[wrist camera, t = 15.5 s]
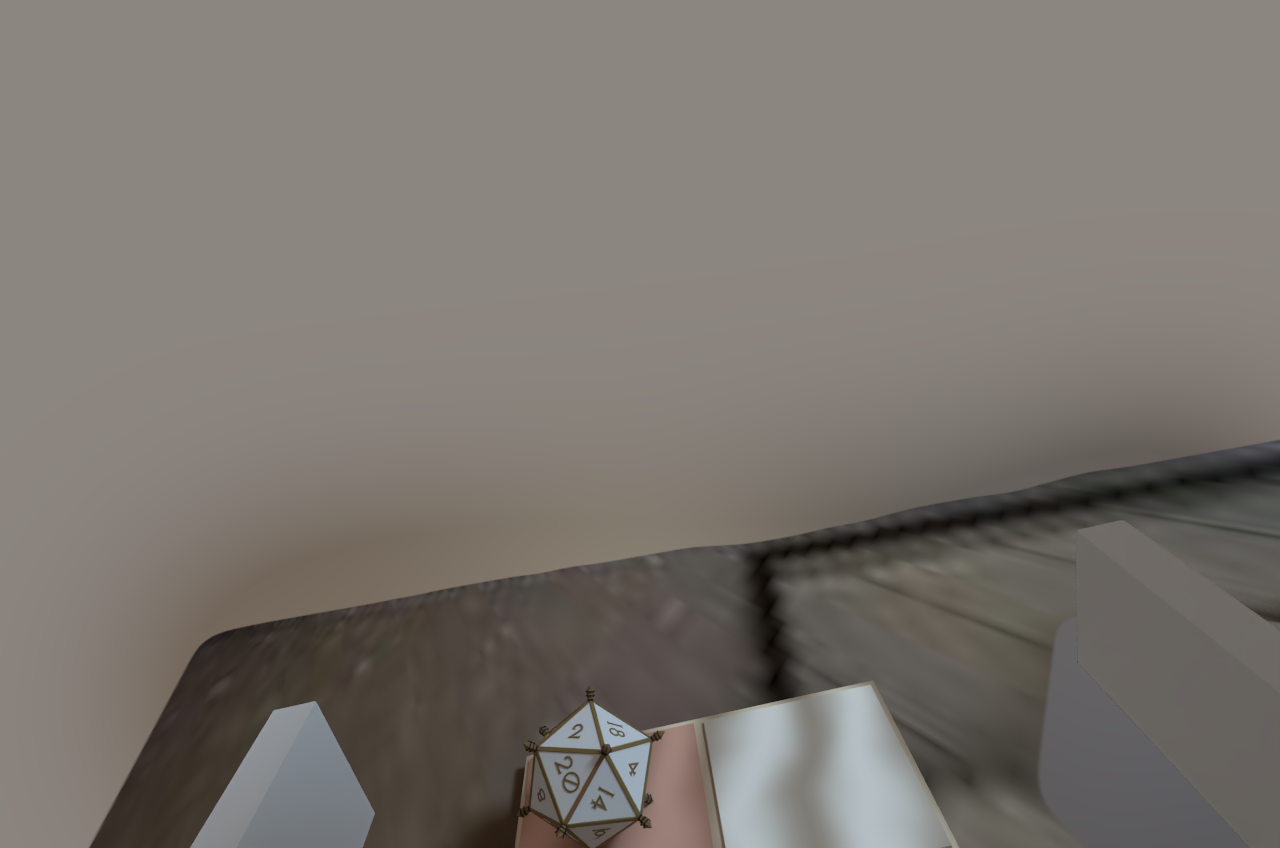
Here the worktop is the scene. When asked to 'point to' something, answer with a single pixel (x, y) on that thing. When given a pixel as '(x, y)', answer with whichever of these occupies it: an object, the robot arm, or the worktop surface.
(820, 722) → the game board
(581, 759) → the game die
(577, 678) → the worktop surface
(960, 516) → the worktop surface
